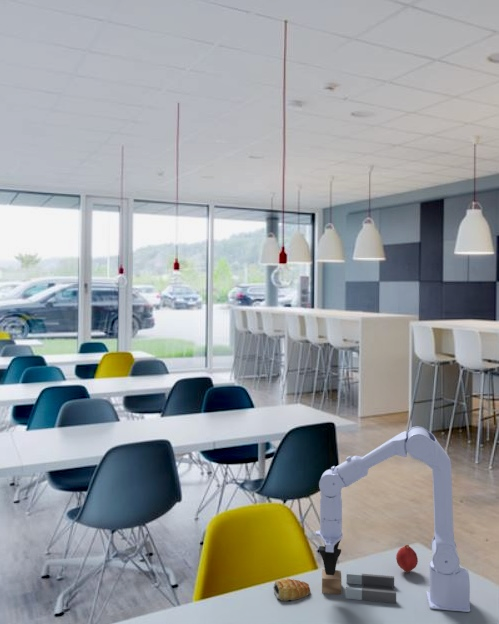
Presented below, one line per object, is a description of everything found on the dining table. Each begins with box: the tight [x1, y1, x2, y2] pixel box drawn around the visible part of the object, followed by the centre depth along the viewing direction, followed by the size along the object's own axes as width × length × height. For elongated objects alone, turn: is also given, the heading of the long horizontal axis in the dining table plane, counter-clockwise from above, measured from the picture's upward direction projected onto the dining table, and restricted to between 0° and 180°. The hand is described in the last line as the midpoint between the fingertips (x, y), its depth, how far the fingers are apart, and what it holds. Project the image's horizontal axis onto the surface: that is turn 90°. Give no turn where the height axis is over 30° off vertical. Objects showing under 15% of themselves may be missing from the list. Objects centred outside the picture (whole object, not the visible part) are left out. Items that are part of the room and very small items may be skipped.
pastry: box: [272, 577, 311, 602], centre depth 150 cm, size 9×7×4 cm
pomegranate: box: [395, 543, 419, 573], centre depth 162 cm, size 6×6×8 cm
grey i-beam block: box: [345, 571, 397, 604], centre depth 151 cm, size 12×9×2 cm
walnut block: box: [321, 568, 342, 595], centre depth 153 cm, size 5×5×4 cm
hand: (330, 567), depth 153 cm, fingers open, 7 cm apart
